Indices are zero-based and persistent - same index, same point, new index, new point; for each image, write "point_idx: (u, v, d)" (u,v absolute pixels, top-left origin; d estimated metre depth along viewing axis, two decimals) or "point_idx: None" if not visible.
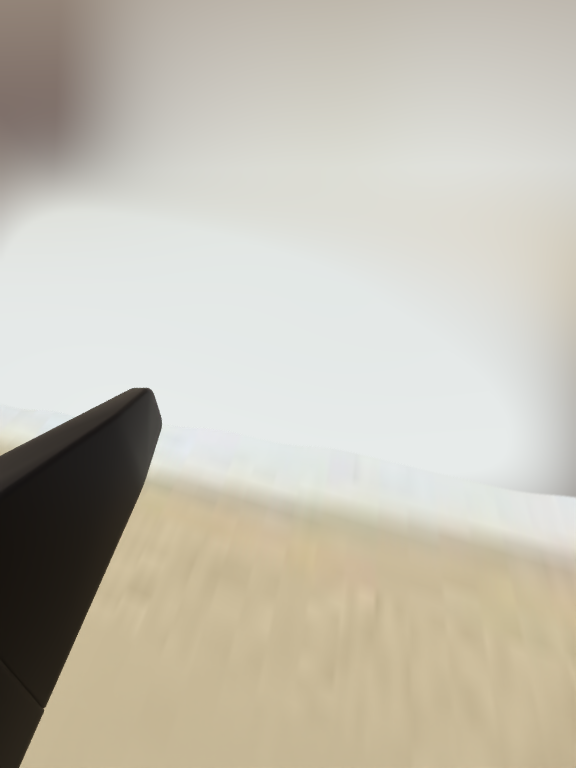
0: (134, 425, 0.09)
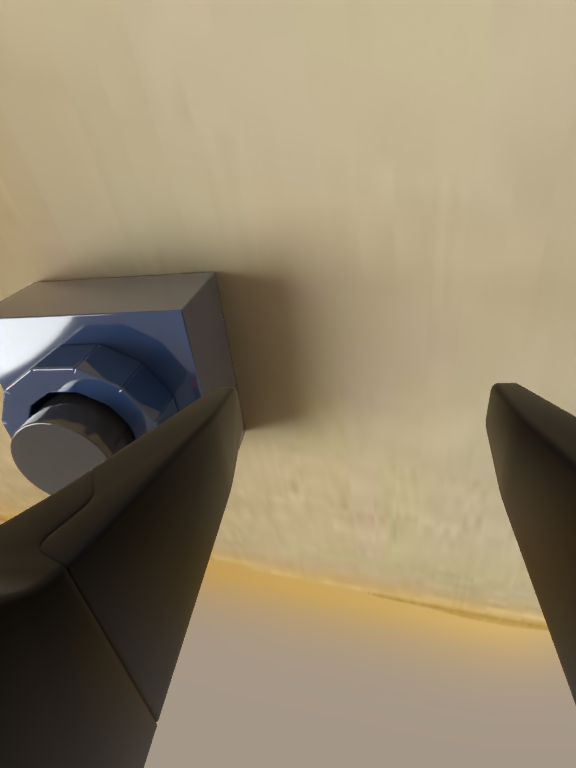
0: (225, 425, 0.08)
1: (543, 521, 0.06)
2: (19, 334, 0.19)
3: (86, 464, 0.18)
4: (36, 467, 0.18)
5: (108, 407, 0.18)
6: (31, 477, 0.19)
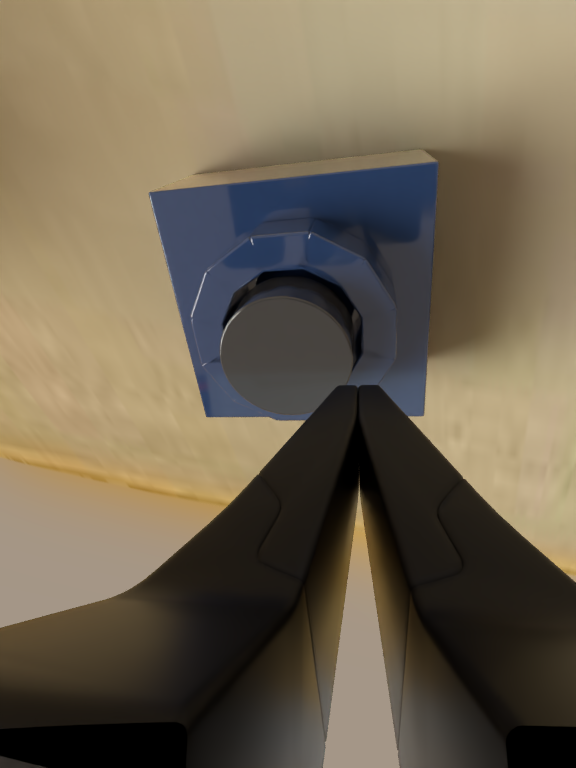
0: None
1: (369, 515, 0.07)
2: (212, 210, 0.16)
3: (318, 357, 0.14)
4: (248, 365, 0.15)
5: (333, 292, 0.15)
6: (236, 380, 0.15)
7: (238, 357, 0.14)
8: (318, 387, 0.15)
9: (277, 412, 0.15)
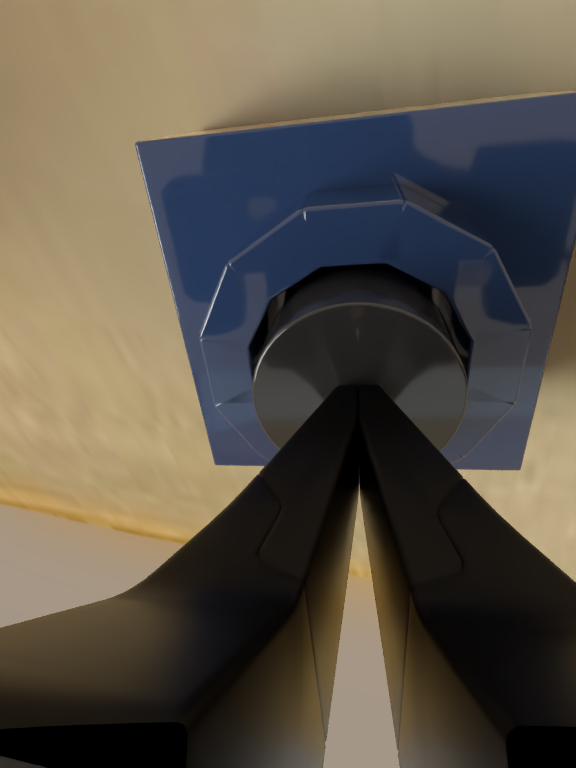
0: None
1: (369, 515, 0.07)
2: (234, 171, 0.10)
3: (411, 398, 0.09)
4: (296, 408, 0.09)
5: (427, 295, 0.10)
6: (276, 430, 0.10)
7: (282, 396, 0.09)
8: None
9: None
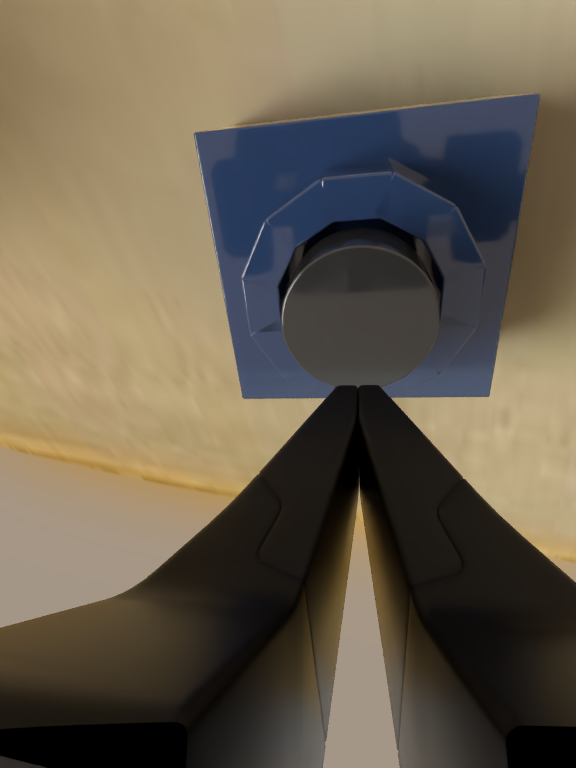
0: None
1: (369, 515, 0.07)
2: (268, 154, 0.14)
3: (399, 320, 0.12)
4: (314, 330, 0.13)
5: (412, 247, 0.13)
6: (298, 349, 0.13)
7: (303, 321, 0.12)
8: (395, 356, 0.13)
9: None
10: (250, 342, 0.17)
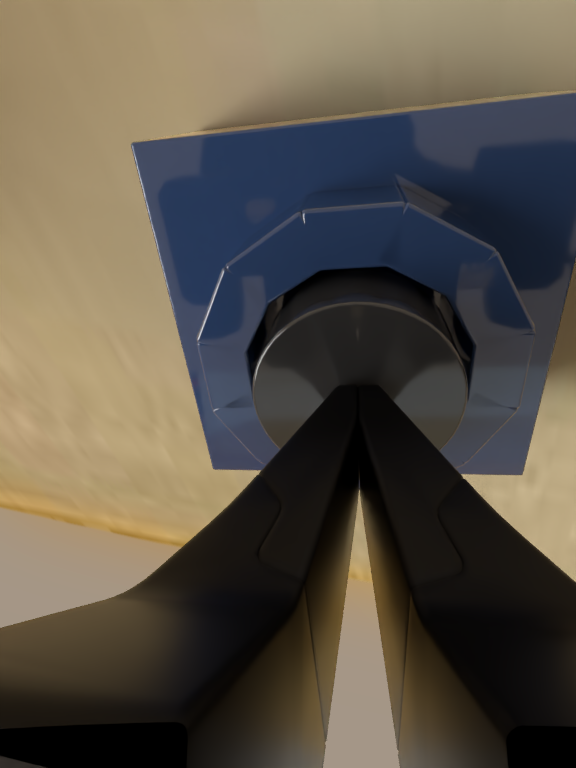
0: None
1: (370, 515, 0.07)
2: (232, 172, 0.10)
3: (411, 398, 0.09)
4: (296, 408, 0.09)
5: (427, 294, 0.10)
6: (276, 429, 0.10)
7: (282, 396, 0.09)
8: None
9: None
10: None
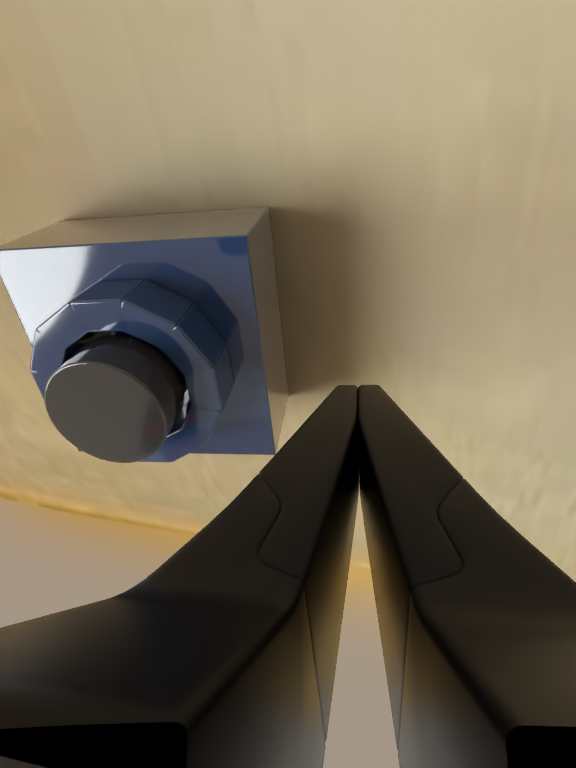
0: None
1: (370, 515, 0.07)
2: (51, 268, 0.17)
3: (133, 414, 0.15)
4: (73, 419, 0.16)
5: (157, 351, 0.16)
6: (66, 432, 0.16)
7: (63, 412, 0.15)
8: (140, 440, 0.16)
9: (109, 460, 0.17)
10: None
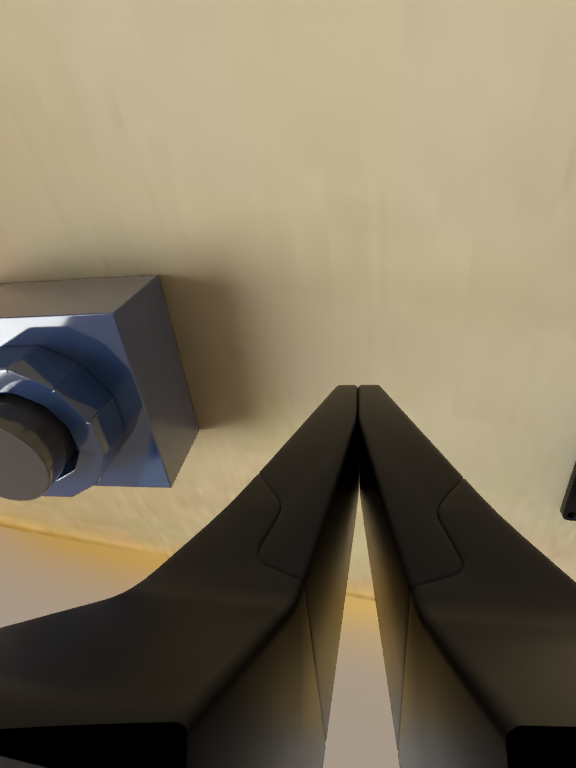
0: None
1: (369, 515, 0.07)
2: None
3: (20, 462, 0.18)
4: None
5: (45, 407, 0.19)
6: None
7: None
8: (30, 483, 0.19)
9: (9, 498, 0.20)
10: None
